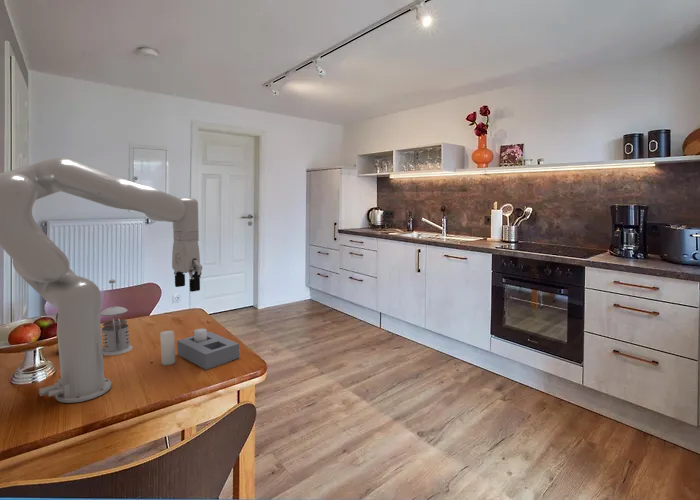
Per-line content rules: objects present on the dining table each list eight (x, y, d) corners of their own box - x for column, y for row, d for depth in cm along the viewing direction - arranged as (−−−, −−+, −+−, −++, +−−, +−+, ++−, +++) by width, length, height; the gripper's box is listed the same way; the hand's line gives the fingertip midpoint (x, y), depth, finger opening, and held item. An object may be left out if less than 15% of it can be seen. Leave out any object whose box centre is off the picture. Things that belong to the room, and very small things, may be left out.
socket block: (206, 369, 121) (205, 345, 120) (177, 354, 132) (176, 331, 131) (239, 358, 130) (238, 335, 129) (210, 344, 141) (209, 323, 140)
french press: (130, 342, 143) (126, 275, 139) (135, 352, 133) (131, 281, 130) (99, 348, 137) (93, 278, 134) (101, 359, 128) (96, 284, 124)
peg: (165, 366, 123) (163, 335, 122) (159, 362, 126) (157, 332, 124) (177, 362, 126) (176, 332, 125) (171, 359, 129) (170, 329, 127)
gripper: (162, 235, 129) (163, 286, 130) (188, 239, 117) (189, 294, 119) (184, 234, 134) (185, 283, 136) (211, 237, 123) (212, 291, 125)
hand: (187, 288), depth 128 cm, fingers open, 9 cm apart
